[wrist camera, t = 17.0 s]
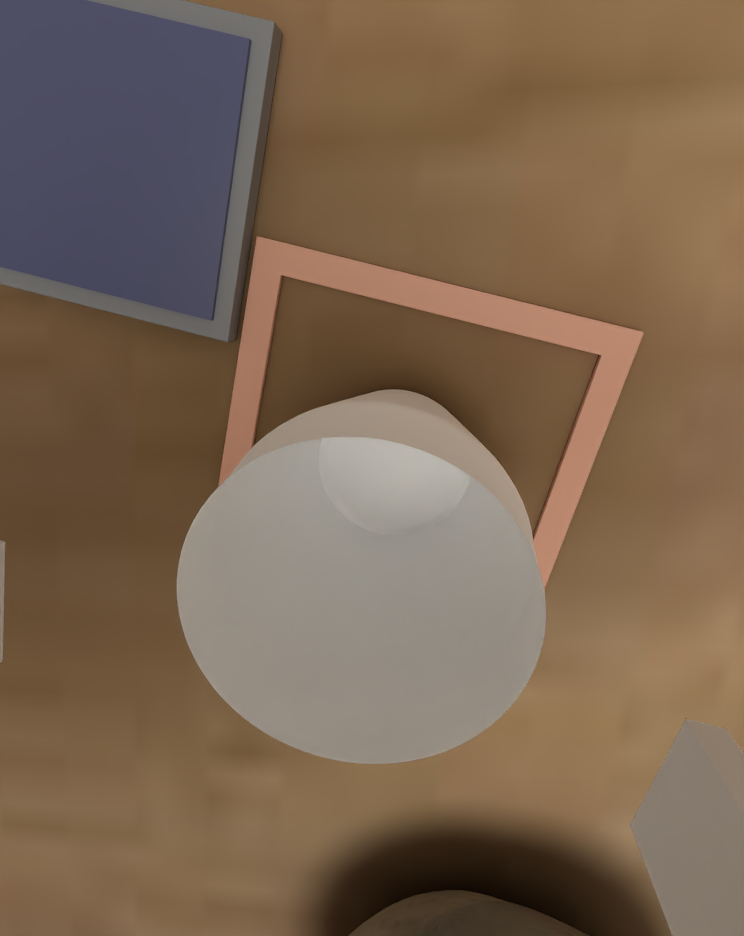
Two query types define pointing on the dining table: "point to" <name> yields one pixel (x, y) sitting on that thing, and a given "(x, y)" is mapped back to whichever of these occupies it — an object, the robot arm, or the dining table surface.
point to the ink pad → (133, 155)
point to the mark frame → (452, 302)
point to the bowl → (461, 918)
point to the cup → (365, 583)
